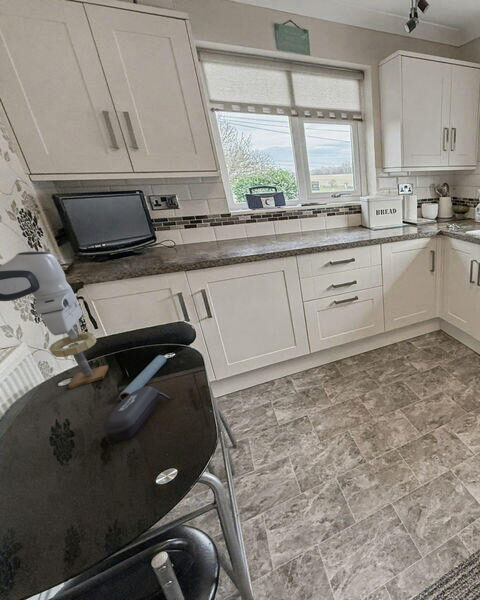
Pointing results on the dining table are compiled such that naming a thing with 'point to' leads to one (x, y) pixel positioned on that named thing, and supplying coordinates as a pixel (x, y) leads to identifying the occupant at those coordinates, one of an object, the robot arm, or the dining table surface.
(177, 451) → the dining table surface
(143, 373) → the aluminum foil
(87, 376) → the stand
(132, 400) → the glasses case
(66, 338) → the tape
